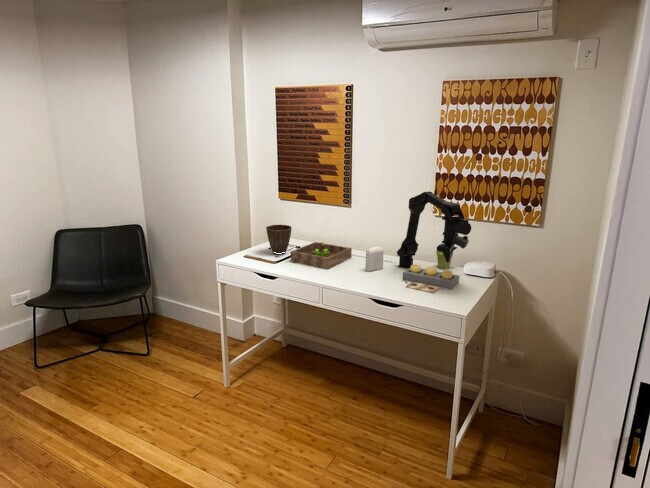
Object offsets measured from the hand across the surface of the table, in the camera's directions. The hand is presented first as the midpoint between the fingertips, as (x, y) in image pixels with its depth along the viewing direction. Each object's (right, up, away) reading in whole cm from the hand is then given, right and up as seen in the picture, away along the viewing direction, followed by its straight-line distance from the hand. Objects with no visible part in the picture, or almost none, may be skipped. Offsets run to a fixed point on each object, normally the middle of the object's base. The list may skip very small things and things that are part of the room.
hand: (447, 262), depth 218 cm
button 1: (-13, -6, +11) cm, 18 cm away
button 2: (-7, -7, +7) cm, 12 cm away
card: (-12, -12, -1) cm, 18 cm away
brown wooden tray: (-61, 0, +42) cm, 74 cm away
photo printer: (-33, -5, +25) cm, 42 cm away
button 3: (0, -9, +2) cm, 9 cm away
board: (-7, -10, +7) cm, 14 cm away
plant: (-61, -1, +42) cm, 74 cm away
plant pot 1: (-86, +3, +54) cm, 102 cm away
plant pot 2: (+6, -4, +29) cm, 30 cm away
